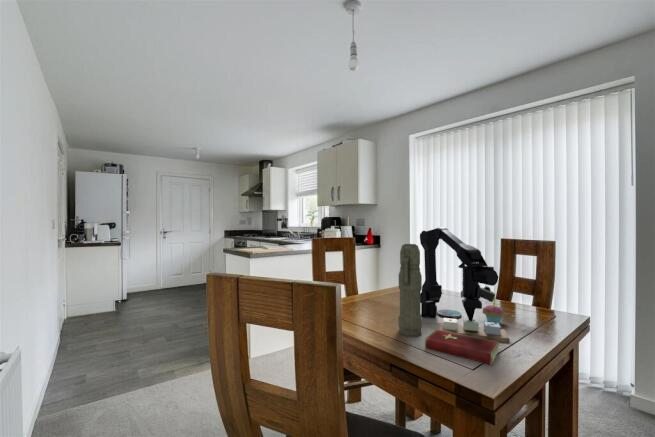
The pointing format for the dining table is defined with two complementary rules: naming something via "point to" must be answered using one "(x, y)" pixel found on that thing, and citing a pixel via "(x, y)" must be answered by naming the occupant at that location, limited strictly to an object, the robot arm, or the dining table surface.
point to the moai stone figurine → (410, 291)
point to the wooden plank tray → (477, 333)
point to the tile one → (450, 324)
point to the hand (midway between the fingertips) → (470, 320)
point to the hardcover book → (462, 346)
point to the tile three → (492, 328)
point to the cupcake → (493, 313)
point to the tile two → (470, 324)
